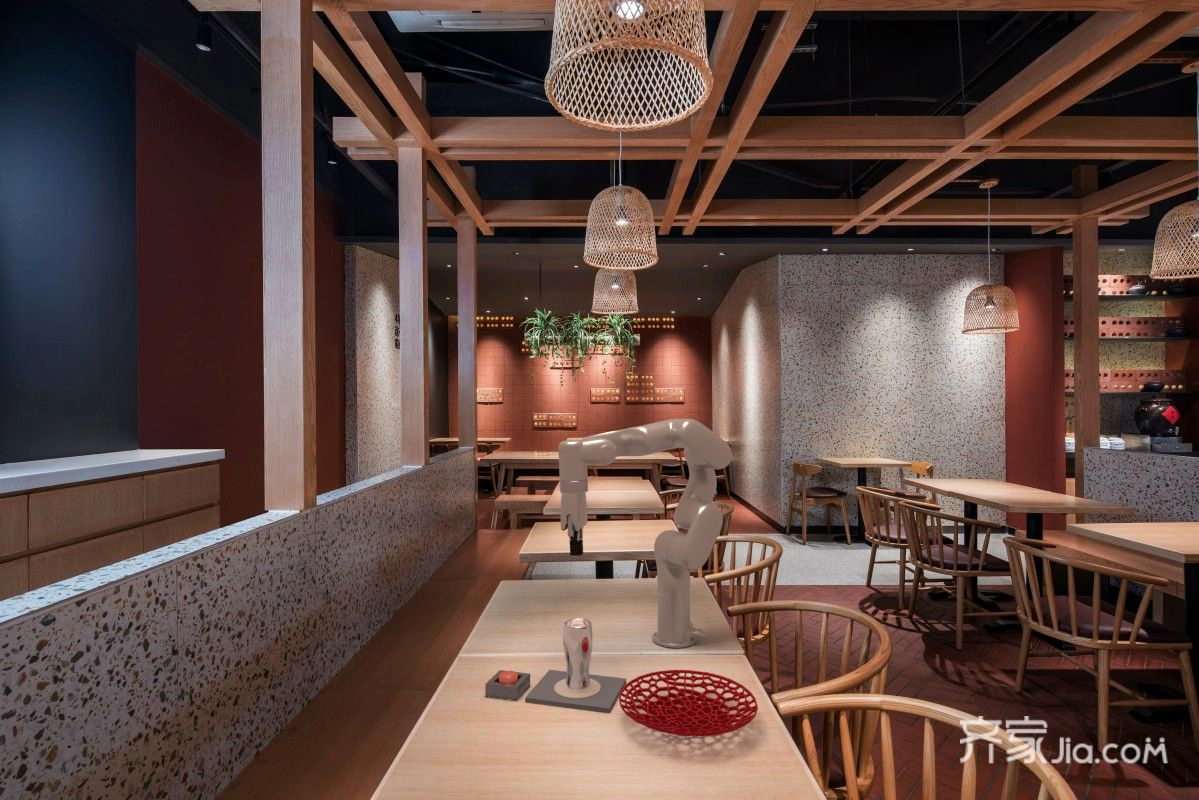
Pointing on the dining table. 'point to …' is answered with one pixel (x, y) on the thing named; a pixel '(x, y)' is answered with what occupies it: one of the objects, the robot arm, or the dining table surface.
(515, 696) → the button housing
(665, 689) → the bowl
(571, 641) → the beer glass
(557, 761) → the dining table surface
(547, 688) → the grey rectangular board
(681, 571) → the robot arm
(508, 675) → the button
